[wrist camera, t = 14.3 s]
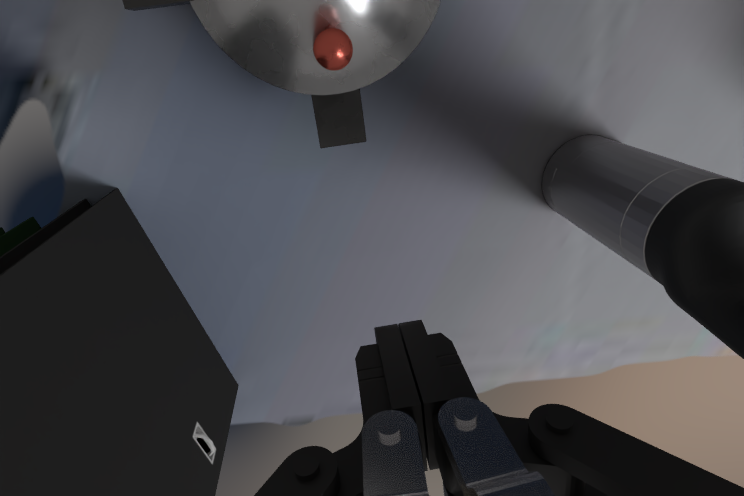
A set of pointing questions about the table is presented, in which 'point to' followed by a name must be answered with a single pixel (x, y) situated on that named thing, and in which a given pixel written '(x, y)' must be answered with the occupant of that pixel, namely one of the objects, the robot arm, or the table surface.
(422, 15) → the lid
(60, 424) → the binder
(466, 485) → the robot arm
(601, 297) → the table surface
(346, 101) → the pot
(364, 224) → the table surface
